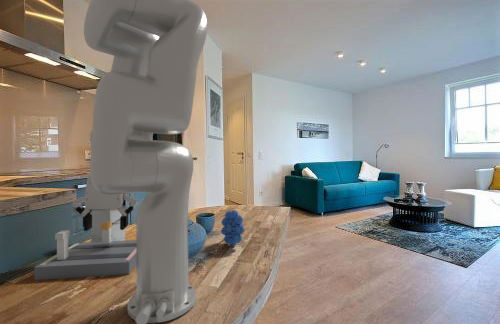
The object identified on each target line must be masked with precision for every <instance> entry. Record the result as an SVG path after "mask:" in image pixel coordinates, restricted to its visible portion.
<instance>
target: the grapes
mask: <svg viewBox="0 0 500 324" xmlns="http://www.w3.org/2000/svg"><path fill="white" fill-rule="evenodd" d="M243 222H244V218H243V216H242V215H240V214H239V211H237V209H232V210H228V211H226V212H225V214H224V218H222V220H221V225H222V226H223V227H222V228H221V231H220V233H221V234H222V235H224V237H223V241H224V242H225V243H226V244H229V246H230V247H235V246H236V245H237V244H240V243H241V242H242V240H243V237H242V235H243V234H244V232H245V227H244V224H243Z"/></svg>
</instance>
